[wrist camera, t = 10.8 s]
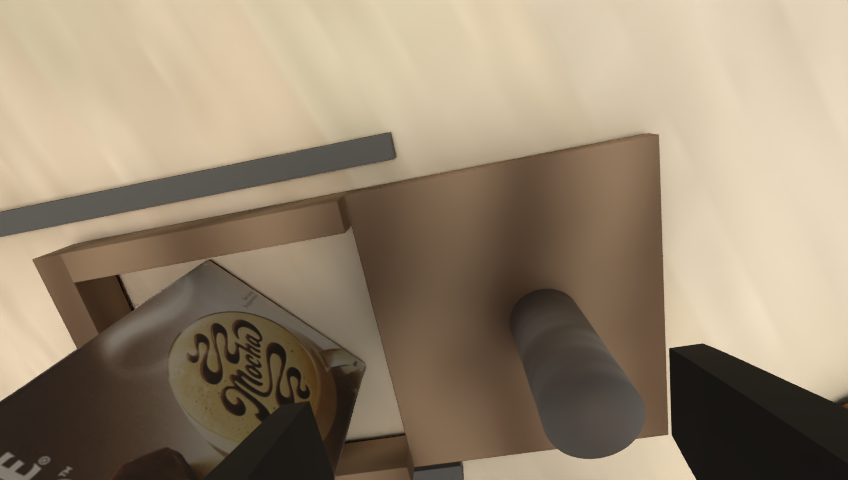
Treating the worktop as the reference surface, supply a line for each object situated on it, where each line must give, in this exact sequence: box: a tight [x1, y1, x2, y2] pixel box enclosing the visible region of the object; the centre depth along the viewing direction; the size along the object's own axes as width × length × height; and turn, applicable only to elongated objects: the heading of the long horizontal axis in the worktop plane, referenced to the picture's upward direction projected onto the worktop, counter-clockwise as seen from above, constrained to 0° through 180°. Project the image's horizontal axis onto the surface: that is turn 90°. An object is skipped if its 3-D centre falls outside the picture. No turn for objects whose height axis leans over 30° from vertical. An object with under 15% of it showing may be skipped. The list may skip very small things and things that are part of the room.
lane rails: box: [0, 132, 464, 480], centre depth 22 cm, size 28×30×1 cm
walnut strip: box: [33, 133, 668, 480], centre depth 16 cm, size 25×14×7 cm, turn 101°
